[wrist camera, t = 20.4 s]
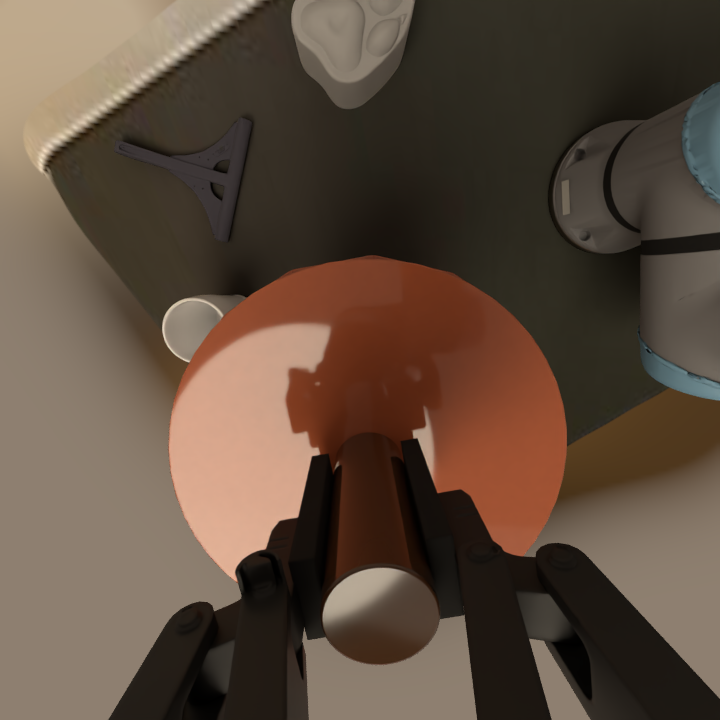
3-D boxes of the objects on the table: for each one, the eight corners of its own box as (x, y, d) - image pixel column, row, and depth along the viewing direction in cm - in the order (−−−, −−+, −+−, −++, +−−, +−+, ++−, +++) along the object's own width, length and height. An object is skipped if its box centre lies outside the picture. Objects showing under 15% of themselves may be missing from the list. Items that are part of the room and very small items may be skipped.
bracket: (131, 86, 48) (118, 76, 45) (253, 125, 49) (247, 116, 46) (114, 209, 51) (101, 206, 48) (229, 243, 52) (222, 242, 50)
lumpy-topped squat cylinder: (288, 51, 47) (273, 5, 39) (367, -41, 45) (369, -111, 37) (350, 121, 49) (349, 91, 41) (429, 35, 47) (445, -15, 39)
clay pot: (449, 244, 35) (754, 174, 8) (473, 442, 39) (728, 816, 12) (237, 283, 35) (-114, 335, 9) (284, 475, 39) (141, 900, 13)
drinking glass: (227, 346, 55) (181, 374, 41) (204, 300, 54) (148, 312, 39) (271, 327, 55) (241, 350, 40) (250, 280, 53) (210, 286, 39)
